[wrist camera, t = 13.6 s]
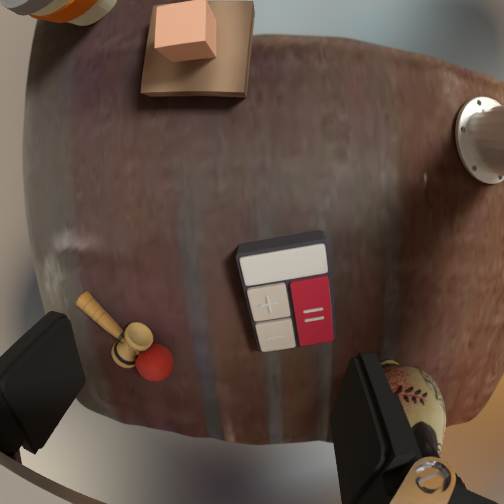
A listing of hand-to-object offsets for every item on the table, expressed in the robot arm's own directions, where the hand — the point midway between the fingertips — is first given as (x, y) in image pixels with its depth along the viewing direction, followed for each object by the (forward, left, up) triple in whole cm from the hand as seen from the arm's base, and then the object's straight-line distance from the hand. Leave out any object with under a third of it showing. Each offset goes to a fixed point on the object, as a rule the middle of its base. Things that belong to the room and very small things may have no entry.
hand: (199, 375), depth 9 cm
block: (+8, -19, -27) cm, 34 cm away
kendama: (+18, +21, -31) cm, 41 cm away
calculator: (-6, +11, -31) cm, 33 cm away
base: (+8, -19, -31) cm, 37 cm away
